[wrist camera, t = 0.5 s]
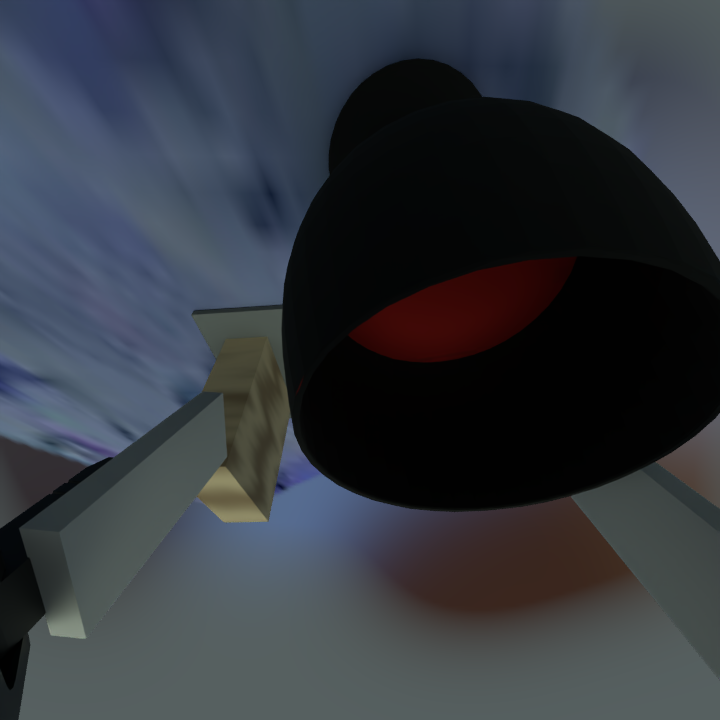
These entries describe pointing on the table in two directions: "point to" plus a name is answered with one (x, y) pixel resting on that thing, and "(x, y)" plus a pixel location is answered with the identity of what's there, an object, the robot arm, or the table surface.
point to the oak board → (248, 430)
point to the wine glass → (492, 303)
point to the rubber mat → (242, 327)
